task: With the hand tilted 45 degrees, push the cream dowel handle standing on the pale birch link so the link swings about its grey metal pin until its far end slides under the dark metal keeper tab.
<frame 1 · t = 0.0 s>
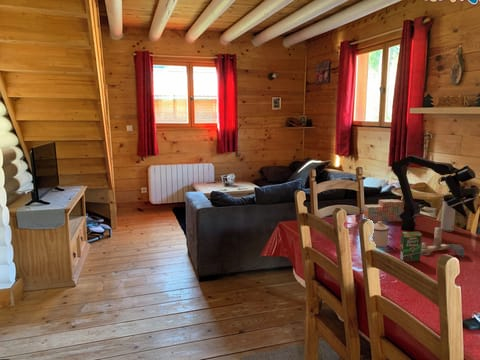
hand: (470, 215, 177), 15 cm above the table, tool tilted 35°, fingers open, 9 cm apart
keeper: (455, 250, 167), on the table
pintle: (423, 252, 170), on the table
travel mug: (447, 230, 202), on the table
teacup with lid: (375, 244, 183), on the table
stack of blocks: (382, 220, 223), on the table
coffee box: (409, 261, 162), on the table
link: (433, 239, 171), point 6 cm above the table, hinge at 0.0°
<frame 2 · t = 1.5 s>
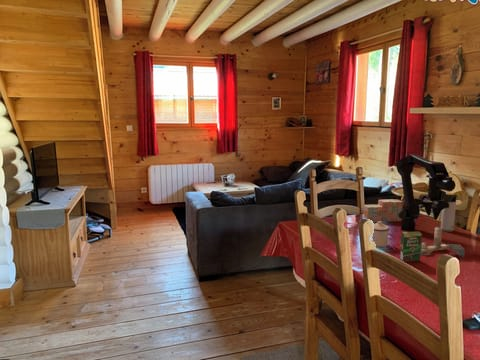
hand: (432, 217, 185), 12 cm above the table, tool pointing down, fingers open, 7 cm apart
nothing on the table moved.
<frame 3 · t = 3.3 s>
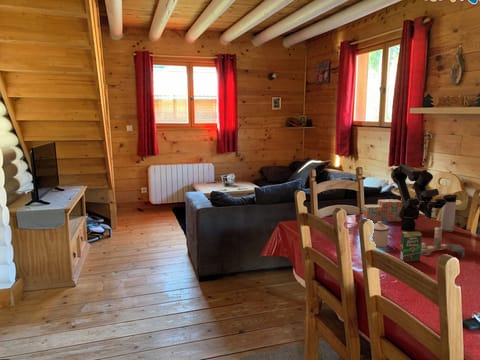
hand: (430, 218, 179), 13 cm above the table, tool tilted 45°, fingers closed
nothing on the table moved.
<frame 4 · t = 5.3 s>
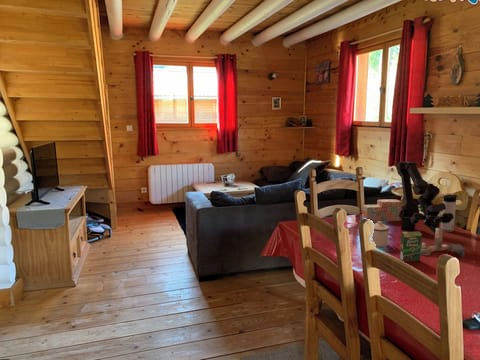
hand: (437, 233, 173), 8 cm above the table, tool tilted 45°, fingers closed, pressing on link
link: (434, 239, 171), point 6 cm above the table, hinge at -3.3°, touching gripper
everything else where it was.
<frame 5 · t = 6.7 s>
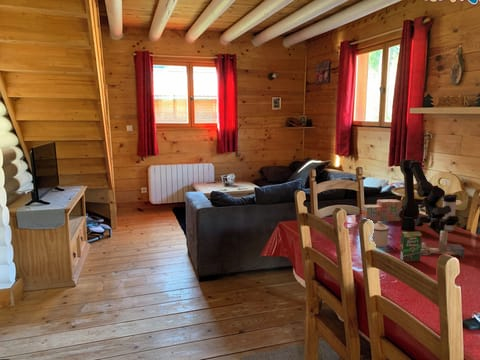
hand: (442, 237, 168), 8 cm above the table, tool tilted 45°, fingers closed
link: (437, 241, 168), point 6 cm above the table, hinge at -33.3°, touching gripper
everything else where it was.
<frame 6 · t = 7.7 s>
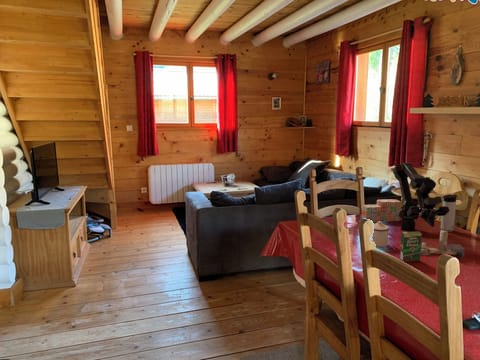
hand: (432, 226, 176), 10 cm above the table, tool tilted 45°, fingers closed
link: (437, 241, 168), point 6 cm above the table, hinge at -33.3°
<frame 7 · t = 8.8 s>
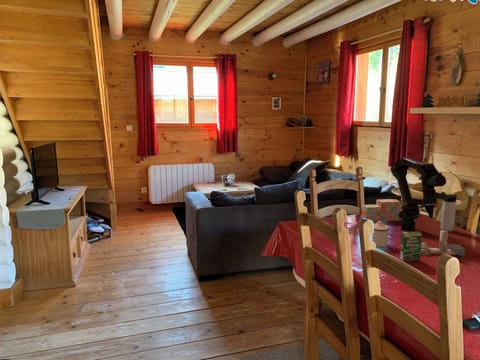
hand: (431, 218, 184), 12 cm above the table, tool tilted 15°, fingers closed
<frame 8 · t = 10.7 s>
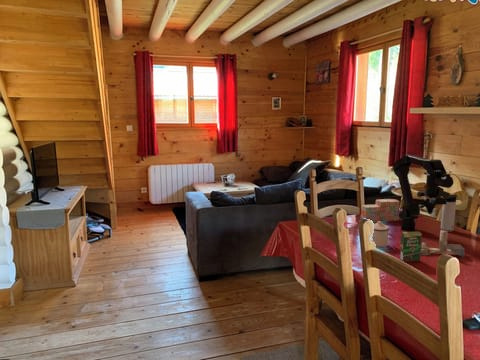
hand: (429, 213, 188), 13 cm above the table, tool pointing down, fingers closed
at the end: link at -33° (first picture: +0°) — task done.
